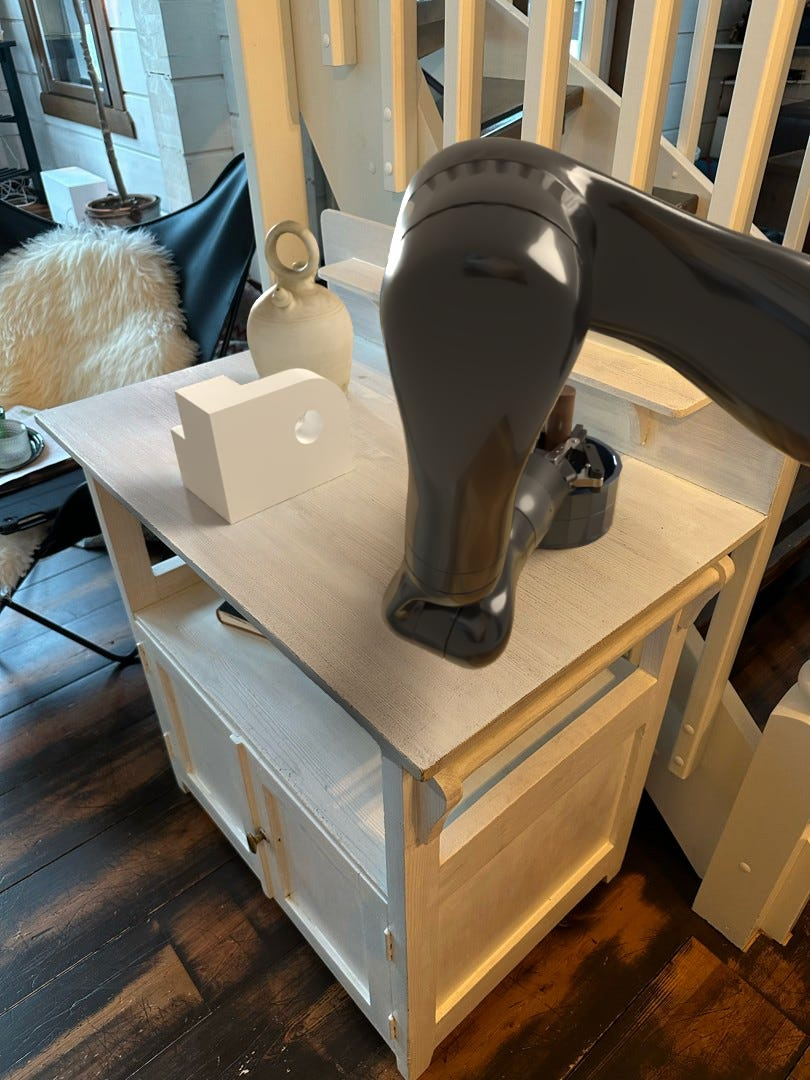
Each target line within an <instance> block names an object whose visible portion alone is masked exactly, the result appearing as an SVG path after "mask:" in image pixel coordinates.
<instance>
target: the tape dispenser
mask: <svg viewBox="0 0 810 1080" xmlns="http://www.w3.org/2000/svg"><path fill="white" fill-rule="evenodd" d="M173 392H174V395H175V401H176V405H177V409H178V413H179V418H180V422H181V424H178V425H175V426H173V427H170V428H169V430H170V434H171V438H172V442H173V443H172V444H173V447H174V451H175V455H176V459H177V464H178V468H179V472H180V477H181V481H182V485H183V486H184V487H185V488H186V489H187V490H188V491H190V492H191V493H192V494H194V496H196V497H197V498H198V499H200V500H201V501H202V502H203V503H204V504H206V505H207V506H208V507H209V508H211V510H213V511H214V512H216V514H218V515H219V516H220V517H221V518H223V519H224V520H225V521H226V522H227V523H229V524H230V525H234V524H235V523H237V522H240V521H243V520H244V519H246V518H249V517H251V516H253V515H256V514H258V513H260V512H262V511H265V510H267V509H268V508H269V509H270V508H271V507H274V506H276V505H278V504H280V503H282V502H284V501H287V500H289V499H292V498H293V497H296V496H298V495H301V494H303V493H305V492H307V491H310V490H311V489H314V488H316V487H318V486H320V485H323V484H326V483H327V482H329V481H332V480H334V479H336V478H339V477H340V476H343V475H346V474H348V473H350V472H352V471H355V465H354V463H355V462H354V452H353V438H352V425H351V414H350V406H349V402H348V399H347V395H346V396H345V394H344V393H343V391H342V390H341V389H340V388H339V387H338V386H337V385H336V384H335V383H333V382H331V381H329V380H328V379H326V378H324V377H322V376H320V375H318V374H316V373H314V372H312V371H309V370H306V369H299V368H296V369H289V370H286V371H283V372H280V373H277V374H274V375H271V376H268V377H265V378H262V379H260V378H259V379H256V380H253V381H250V382H248V383H245V384H242V385H241V384H240V383H238V382H236V381H234V380H233V379H231V378H230V377H227V376H226V375H224V374H220V375H218V376H215V377H211V378H209V379H206V380H203V381H199V382H197V383H193V384H190V385H187V386H185V387H181V388H179V389H175V390H174V391H173ZM304 414H305V415H304ZM303 415H304V419H303V421H299V420H300V418H301V417H302V416H303Z"/></svg>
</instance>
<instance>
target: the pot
mask: <svg viewBox="0 0 810 1080" xmlns="http://www.w3.org/2000/svg"><path fill="white" fill-rule="evenodd" d="M572 431H573V430H571V432H572ZM586 444H593V445H595V447H596V450H597V452H598V455H599V457H600V460H601V462H602V465H603V468H604V477H603V483H602V490H601V492H600V493H592V492H590V491H589V488H588V486H583V487H580V490H578V491H573V492H571V493H569V494H567V495H566V497H565V499H564V501H563V503H562V505H561V506H560V508H559V510H558V512H557V514H556V515H555V517H554V519H553V521H552V523H551V527H550V529H549V531H548V532H547V533H546V534H545V535H544V537H543V539H542V540H541V542H540V543H539V544H538V546H537V547H536V548H542V549H552V550H553V549H554V550H560V549H564V550H565V549H573V548H578V547H583V546H586V545H589V544H592V543H594V542H596V541H598V540H599V539H601V538H602V537H604V536H605V535H606V534H607V533H608V532H609V531H610V529H611V528H612V526H613V523H614V519H615V515H616V509H617V504H618V498H619V492H620V491H619V490H620V486H621V481H622V480H621V479H622V473H623V466H624V465H623V462H622V459H621V455H620V454H619V453H618V452H616V450H615V449H614V448H613V447H612V446H610V445H609V444H608V443H606V442H604V441H602V440H601V439H599V438H597V437H594V436H591V435H588V434H587V437H586ZM572 467H573V469H574V470H575V471H576V473H577V474H580V473H581V470H582V468H581V463H580V462H576V463H575V464H574V465H573V466H572Z"/></svg>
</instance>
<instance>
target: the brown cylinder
mask: <svg viewBox="0 0 810 1080" xmlns="http://www.w3.org/2000/svg"><path fill="white" fill-rule="evenodd" d="M576 393H577V390H576V387H573V385H569V384H565V386H564V388H563V390H562V392H561V394H560V396H559V398H558V400H557V402H556V404H555V406H554V408H553V409H552V411H551V413H550V415H549V417H548V419H547V421H546V424H545V435H544V446H543V450H544V451H553V450H554V449H555V448H556V447H557V446H558V445H559V444H560V443H563V444H564V443H565V442H566V441H567V440H568V438H569V436H570V434H571V431H573V421H574V411H575V403H576ZM578 490H580V487H576V489H575V490H574V491H578Z"/></svg>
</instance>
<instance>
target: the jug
mask: <svg viewBox="0 0 810 1080" xmlns="http://www.w3.org/2000/svg"><path fill="white" fill-rule="evenodd" d="M287 233H288V234H293V235H295V236H297V237H298V238H299V239H300V240H301V242H303V243H302V244H304V247H305V248H306V251H307V261H306V260H305V261H304V260H303V261H300V260H299V261H296V262H293V263H292V268H291V267H290V268H289V267H288V266H286V265H285V264H284V263H282V261H281V260H280V258H279V256H278V252H277V243H278V240H279V239H280V238H281V236H282V235H285V234H287ZM263 253H264V258H265V261H266V263H267V266H268V267H269V269H270V270H271V271H272V272H273V273H274V274H275V275H276V276H277V282H276V283H275V285H273V286H272V287H269V289H267V290H266V291H264V293H263V294H262V295H260V297H258V299H256V300H255V302H254V303H253V304H252V307H251V308H250V311H249V315H248V319H247V323H246V338H247V339H246V340H247V345H248V350H249V353H250V356H251V358H252V361H253V364H254V367H255V370H256V373H257V374H258V376H259V379H262V378H265V377H268V376H271V375H274V374H277V373H280V372H283V371H286V370H289V369H296V368H299V369H306V370H309V371H312V372H314V373H316V374H318V375H320V376H322V377H324V378H326V379H328V380H329V381H331V382H333V383H335V384H336V385H337V386H338V387H339V388H340V389H341V390H342V391H343V393H344V394H345V396H346V397H347V395H348V391H349V389H348V387H349V384H350V380H351V374H352V373H351V371H352V364H353V363H352V362H353V355H354V353H353V352H354V340H355V334H354V327H353V321H352V317H351V315H350V313H349V311H348V309H347V307H346V306H345V304H344V302H343V300H342V299H341V298H340V297H339V296H338V295H337V294H336V293H335V292H333V291H332V290H330V289H328V288H327V287H325V286H323V285H321V284H319V283H316V282H315V277H316V276H317V273H318V272H319V263H320V249H319V244H318V242H317V240H316V238H315V236H314V234H313V233H312V232H311V230H309V229H308V228H307V226H305V225H304V224H302V223H300V222H298V221H295V220H291V219H288V220H283V221H280V222H278V223H276V224H275V225H274V226H272V227H271V228H270V230H269V231H268V233H267V235H266V236H265V240H264V244H263Z"/></svg>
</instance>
